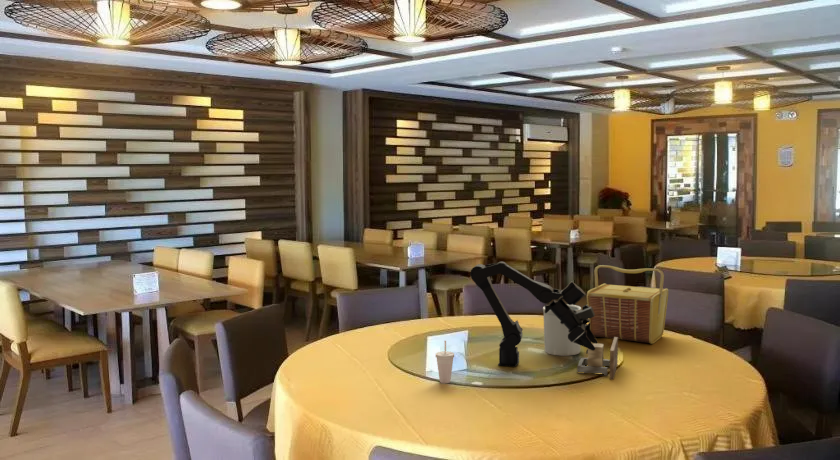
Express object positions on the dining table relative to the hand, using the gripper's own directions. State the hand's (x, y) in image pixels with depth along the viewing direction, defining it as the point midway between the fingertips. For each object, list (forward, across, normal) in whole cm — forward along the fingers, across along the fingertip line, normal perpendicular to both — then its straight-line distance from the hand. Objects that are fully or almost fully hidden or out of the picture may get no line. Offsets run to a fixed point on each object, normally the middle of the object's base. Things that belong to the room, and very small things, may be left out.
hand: (595, 346), depth 254 cm
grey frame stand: (+6, 0, +6) cm, 8 cm away
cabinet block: (+6, 0, +6) cm, 9 cm away
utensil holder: (-4, +22, +17) cm, 28 cm away
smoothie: (-27, -29, +40) cm, 56 cm away
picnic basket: (+12, +53, 0) cm, 54 cm away
